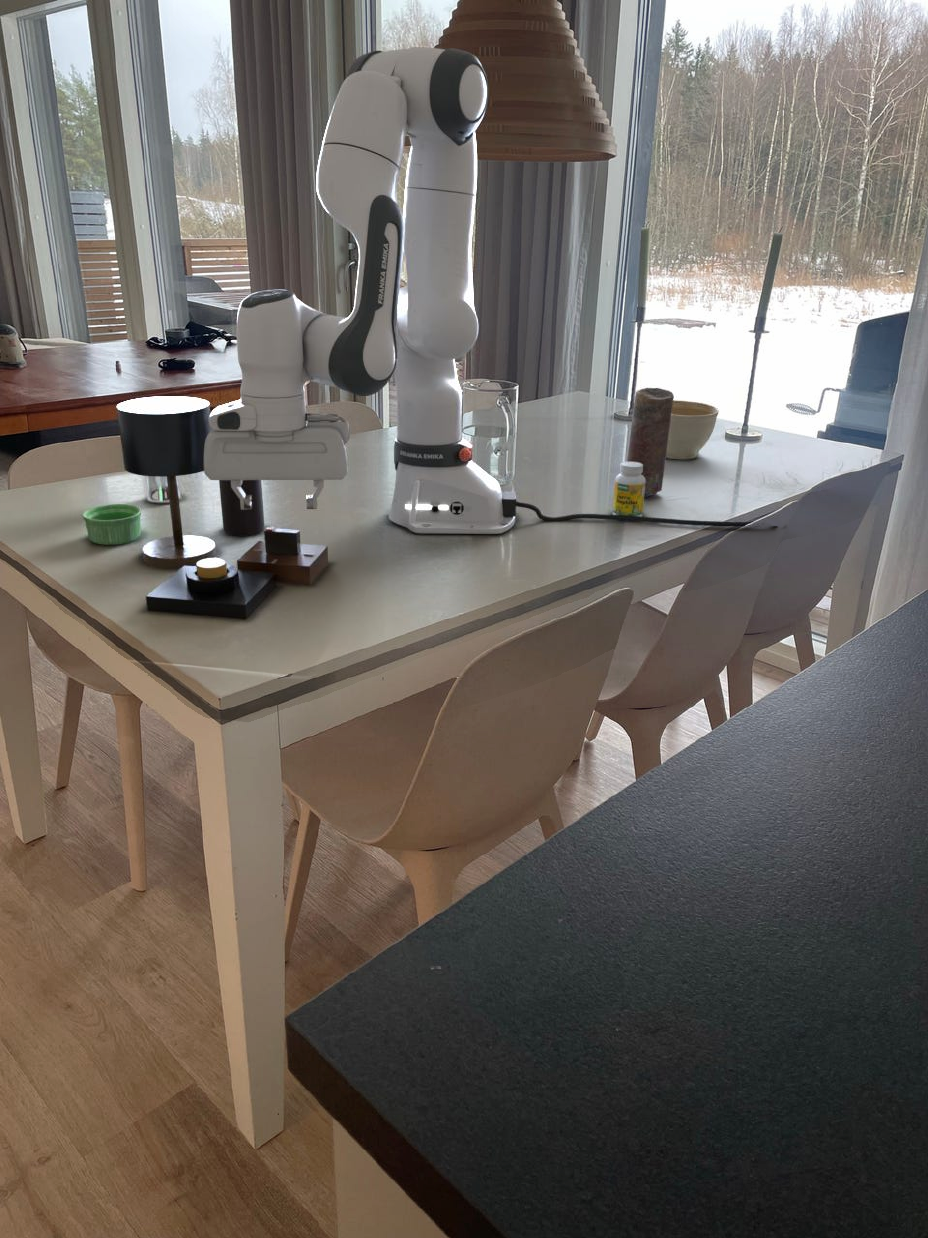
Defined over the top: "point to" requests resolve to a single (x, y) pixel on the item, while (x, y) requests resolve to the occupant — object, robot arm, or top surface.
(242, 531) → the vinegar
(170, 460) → the table lamp
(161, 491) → the beer glass
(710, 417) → the planter bowl
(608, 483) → the top surface
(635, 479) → the supplement bottle
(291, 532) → the dimmer knob
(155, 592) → the switch block
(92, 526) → the ramekin
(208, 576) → the lamp button
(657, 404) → the candle
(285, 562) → the block
